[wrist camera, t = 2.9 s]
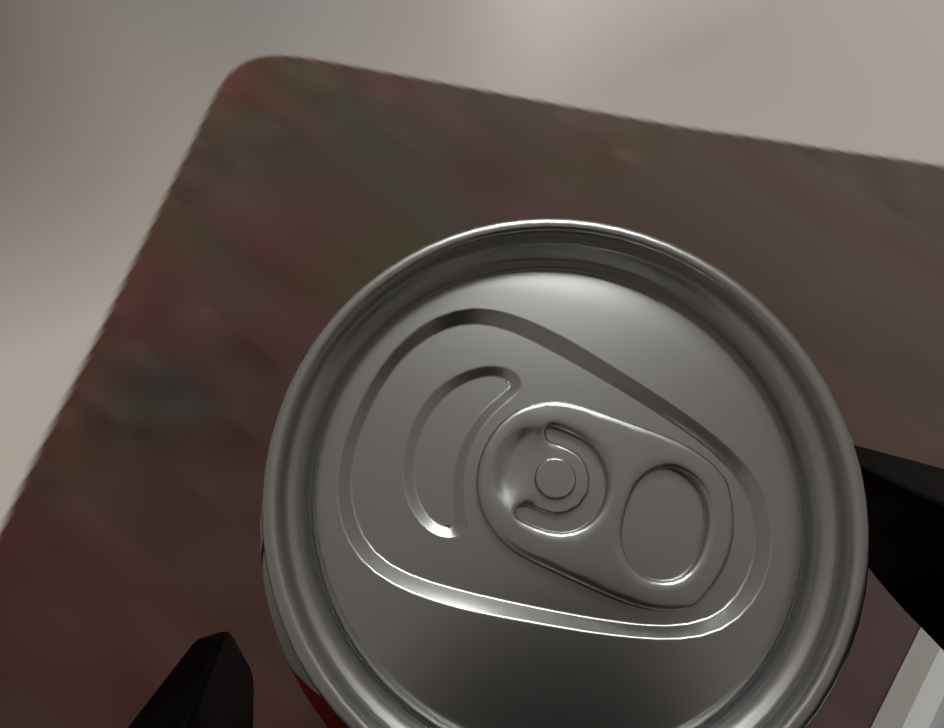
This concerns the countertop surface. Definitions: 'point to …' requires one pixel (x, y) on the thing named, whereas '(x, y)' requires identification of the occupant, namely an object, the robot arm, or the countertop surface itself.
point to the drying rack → (916, 689)
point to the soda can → (561, 495)
